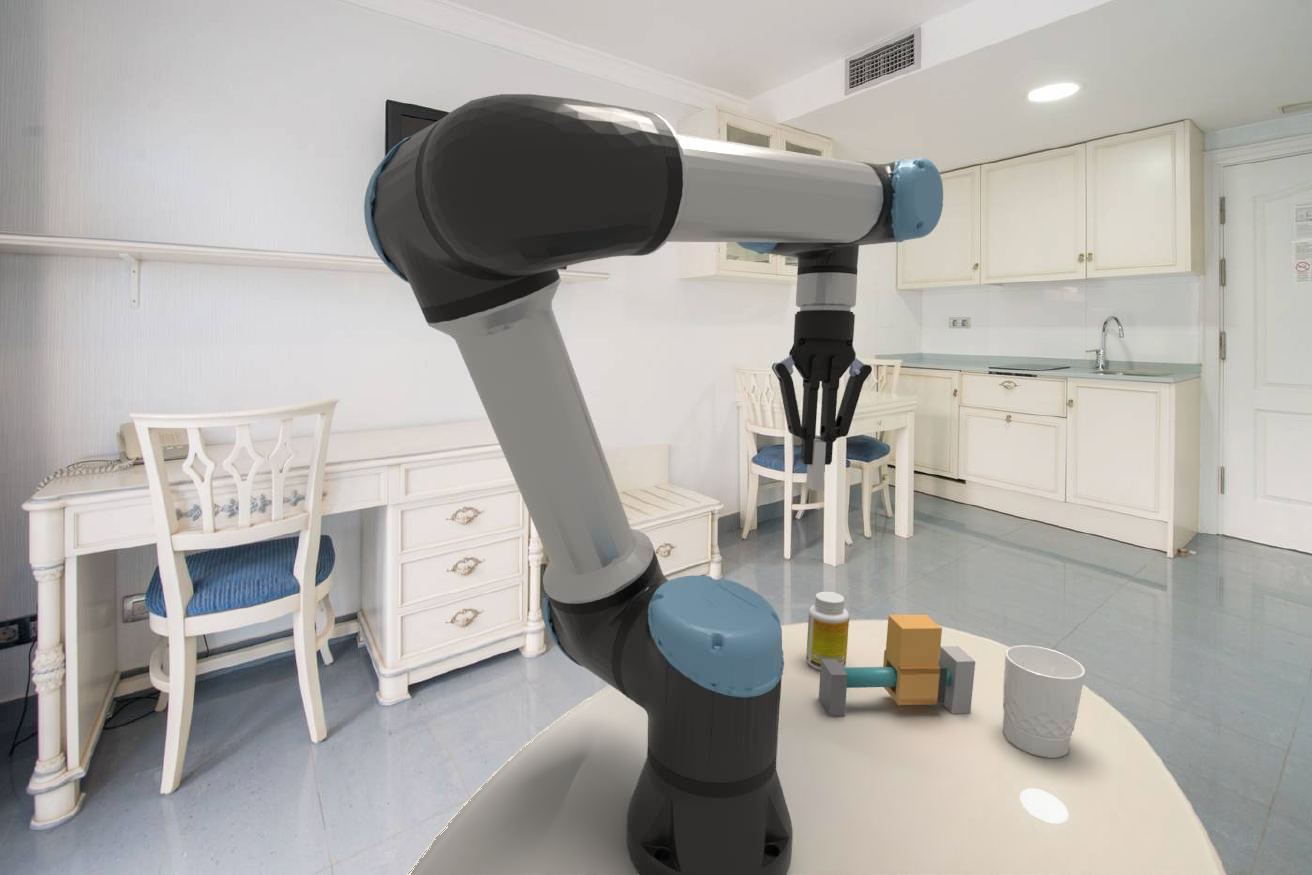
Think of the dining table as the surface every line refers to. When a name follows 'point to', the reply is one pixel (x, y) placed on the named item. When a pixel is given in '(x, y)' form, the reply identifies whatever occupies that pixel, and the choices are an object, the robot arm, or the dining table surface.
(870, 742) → the dining table surface
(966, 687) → the teal axle dumbbell
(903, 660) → the sleeve
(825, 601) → the supplement bottle
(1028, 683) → the white cup
